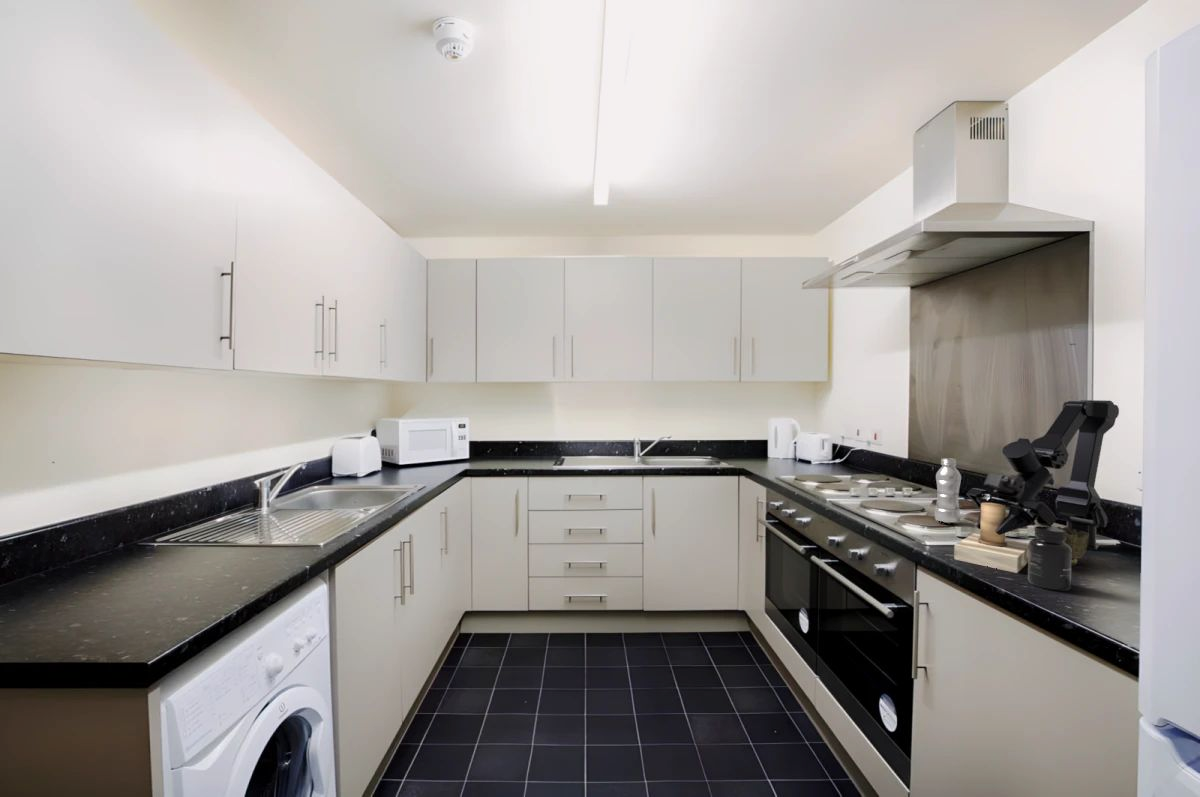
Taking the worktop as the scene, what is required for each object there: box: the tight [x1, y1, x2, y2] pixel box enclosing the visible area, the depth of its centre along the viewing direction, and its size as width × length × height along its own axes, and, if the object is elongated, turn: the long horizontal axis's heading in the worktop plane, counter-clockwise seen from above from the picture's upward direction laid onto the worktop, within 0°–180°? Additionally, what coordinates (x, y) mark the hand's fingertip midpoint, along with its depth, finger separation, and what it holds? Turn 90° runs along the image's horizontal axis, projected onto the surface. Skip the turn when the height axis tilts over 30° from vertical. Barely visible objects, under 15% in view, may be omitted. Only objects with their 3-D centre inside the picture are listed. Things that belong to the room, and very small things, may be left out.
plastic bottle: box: [934, 457, 962, 523], centre depth 157 cm, size 6×7×20 cm
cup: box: [1056, 526, 1089, 566], centre depth 121 cm, size 8×7×8 cm
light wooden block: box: [953, 532, 1029, 574], centre depth 124 cm, size 16×12×4 cm
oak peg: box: [978, 503, 1007, 547], centre depth 125 cm, size 6×6×13 cm
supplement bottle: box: [1027, 525, 1072, 592], centre depth 107 cm, size 7×7×12 cm
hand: (987, 530), depth 125 cm, fingers closed on oak peg, 5 cm apart
